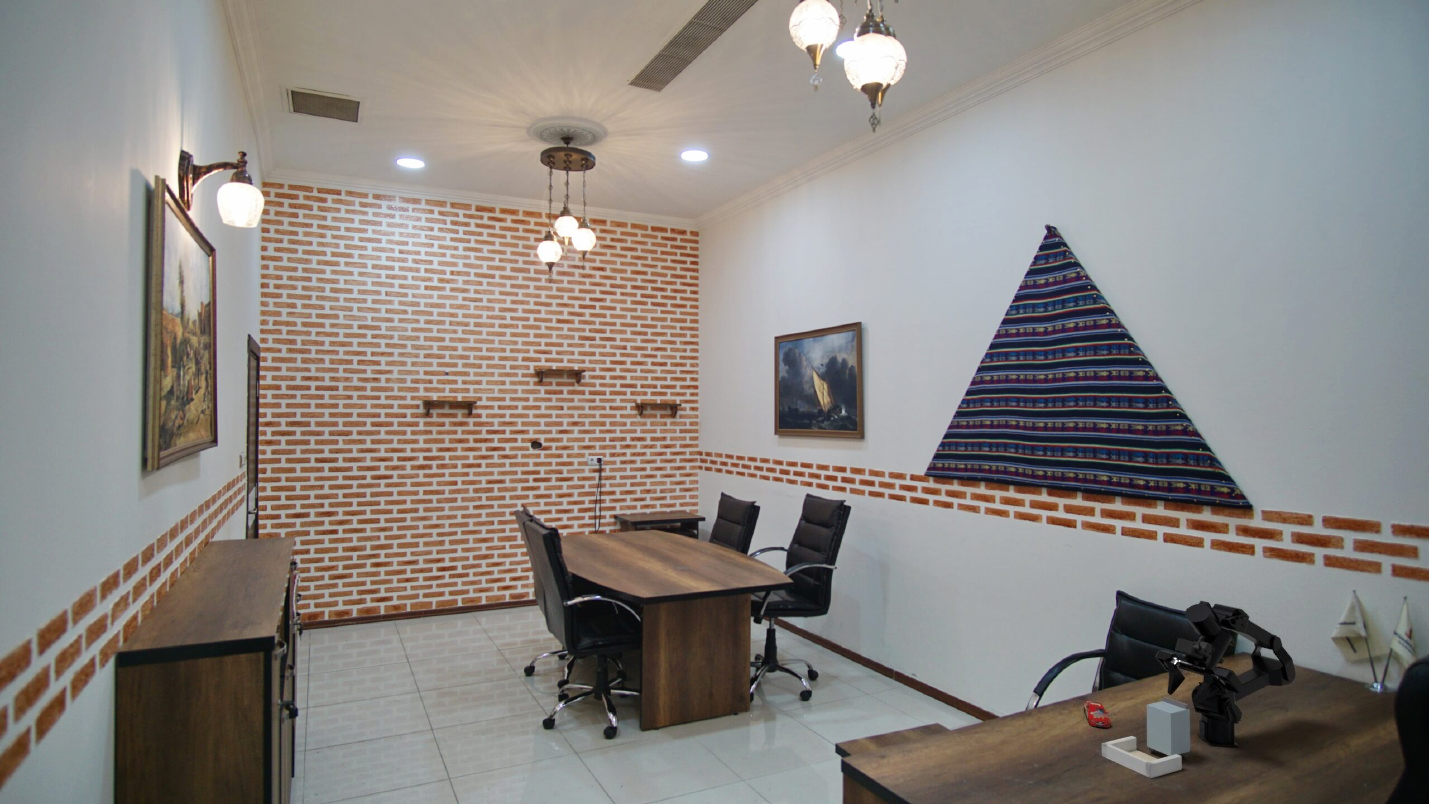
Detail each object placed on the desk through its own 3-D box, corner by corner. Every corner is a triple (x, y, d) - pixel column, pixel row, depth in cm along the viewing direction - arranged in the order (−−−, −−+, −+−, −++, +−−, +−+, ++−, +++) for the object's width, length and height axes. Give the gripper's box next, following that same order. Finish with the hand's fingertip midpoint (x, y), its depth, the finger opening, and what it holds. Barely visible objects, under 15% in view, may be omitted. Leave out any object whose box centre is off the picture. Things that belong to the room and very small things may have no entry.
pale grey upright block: (1166, 746, 186) (1165, 696, 186) (1190, 756, 180) (1189, 704, 181) (1147, 751, 183) (1146, 700, 183) (1171, 762, 177) (1170, 709, 178)
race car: (1111, 731, 196) (1111, 715, 196) (1088, 728, 198) (1088, 713, 198) (1104, 713, 209) (1104, 698, 209) (1082, 710, 211) (1082, 695, 211)
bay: (1131, 748, 185) (1131, 735, 185) (1181, 769, 174) (1181, 756, 174) (1101, 756, 181) (1101, 743, 181) (1150, 778, 170) (1150, 764, 170)
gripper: (1159, 618, 196) (1130, 666, 191) (1234, 636, 179) (1204, 690, 174) (1180, 645, 199) (1152, 693, 194) (1255, 666, 182) (1226, 719, 177)
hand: (1181, 698), depth 185 cm, fingers open, 6 cm apart
